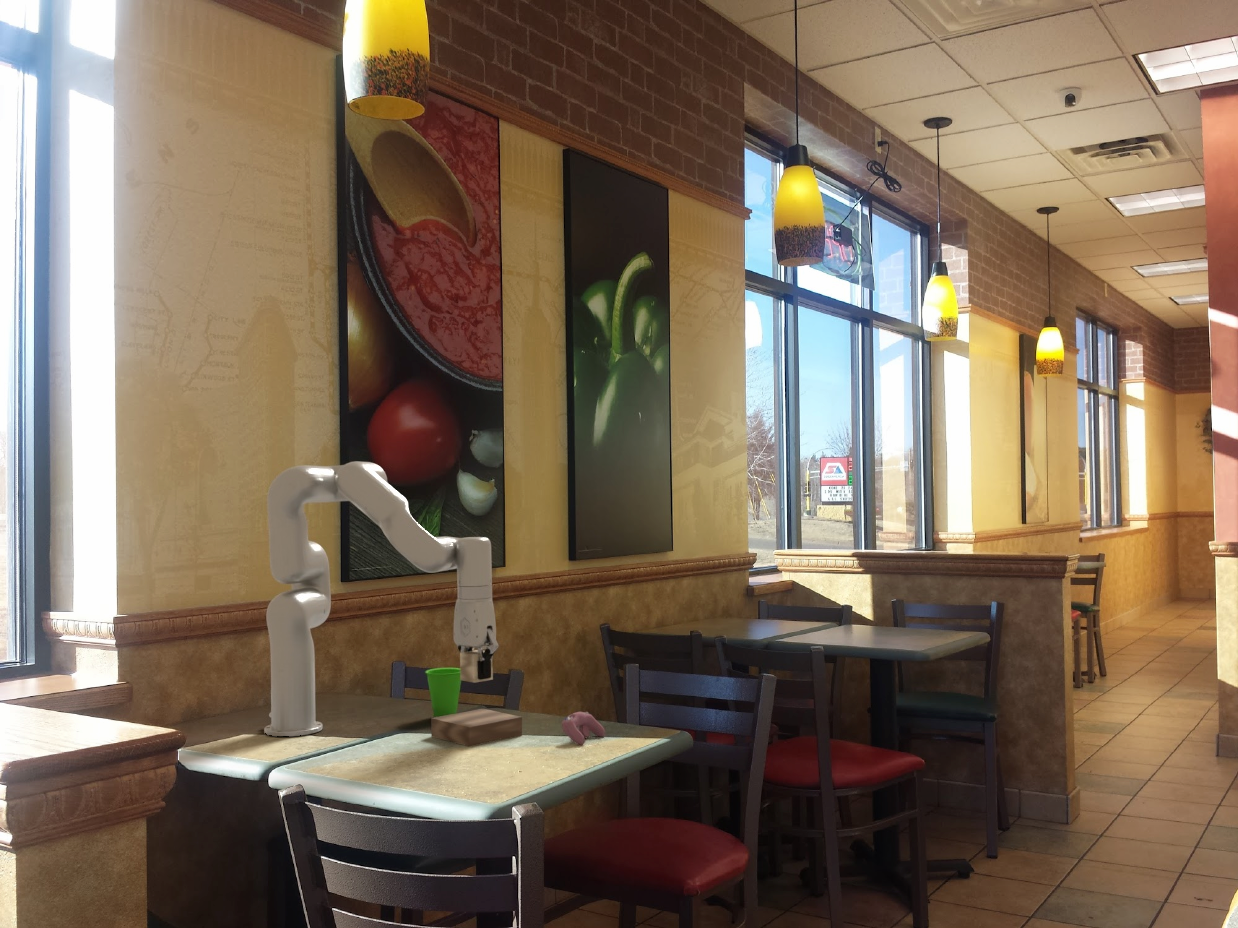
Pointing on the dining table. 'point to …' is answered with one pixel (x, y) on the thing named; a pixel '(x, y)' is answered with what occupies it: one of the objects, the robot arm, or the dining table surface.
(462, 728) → the walnut block
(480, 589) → the robot arm
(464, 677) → the birch block
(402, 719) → the dining table surface
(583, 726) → the video game controller
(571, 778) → the dining table surface
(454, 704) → the cup
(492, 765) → the dining table surface
